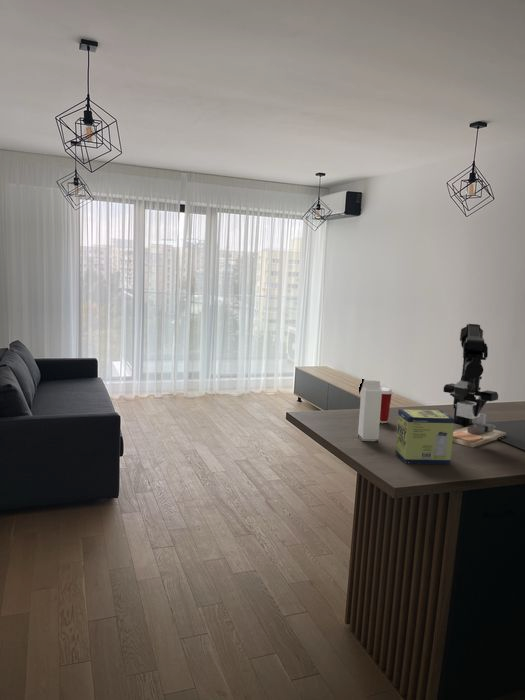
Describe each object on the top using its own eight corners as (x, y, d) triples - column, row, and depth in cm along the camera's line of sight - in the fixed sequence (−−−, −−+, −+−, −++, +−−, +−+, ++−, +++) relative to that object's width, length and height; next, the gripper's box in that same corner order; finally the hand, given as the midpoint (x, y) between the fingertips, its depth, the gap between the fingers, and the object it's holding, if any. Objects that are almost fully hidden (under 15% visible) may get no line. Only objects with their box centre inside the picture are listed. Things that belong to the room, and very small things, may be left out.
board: (440, 438, 201) (440, 433, 201) (474, 428, 218) (474, 423, 218) (472, 447, 192) (473, 441, 191) (505, 436, 209) (506, 431, 208)
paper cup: (390, 420, 224) (393, 388, 222) (389, 425, 217) (391, 391, 215) (372, 418, 227) (374, 386, 225) (369, 422, 220) (372, 389, 218)
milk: (357, 437, 199) (361, 378, 196) (373, 437, 199) (377, 379, 196) (362, 442, 193) (366, 381, 190) (378, 442, 193) (382, 382, 190)
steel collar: (456, 415, 198) (457, 402, 197) (464, 413, 202) (465, 400, 201) (471, 419, 194) (472, 405, 193) (479, 416, 198) (480, 403, 197)
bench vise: (467, 432, 206) (469, 414, 205) (484, 427, 215) (486, 410, 214) (479, 435, 203) (480, 417, 202) (495, 430, 212) (497, 412, 211)
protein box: (394, 453, 181) (397, 408, 179) (438, 454, 182) (442, 410, 180) (404, 464, 171) (408, 416, 169) (451, 464, 172) (455, 418, 170)
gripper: (437, 371, 197) (433, 412, 200) (485, 379, 183) (481, 423, 186) (453, 368, 205) (449, 408, 207) (500, 376, 191) (496, 419, 193)
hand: (467, 414), depth 198 cm, fingers closed on steel collar, 6 cm apart
